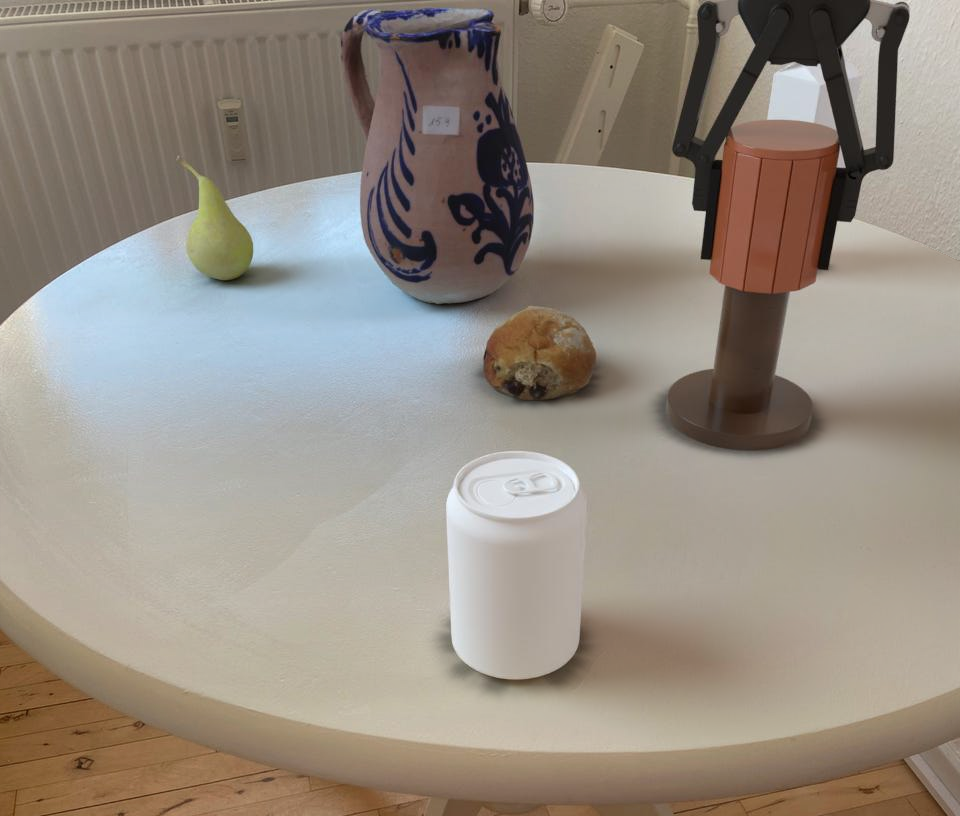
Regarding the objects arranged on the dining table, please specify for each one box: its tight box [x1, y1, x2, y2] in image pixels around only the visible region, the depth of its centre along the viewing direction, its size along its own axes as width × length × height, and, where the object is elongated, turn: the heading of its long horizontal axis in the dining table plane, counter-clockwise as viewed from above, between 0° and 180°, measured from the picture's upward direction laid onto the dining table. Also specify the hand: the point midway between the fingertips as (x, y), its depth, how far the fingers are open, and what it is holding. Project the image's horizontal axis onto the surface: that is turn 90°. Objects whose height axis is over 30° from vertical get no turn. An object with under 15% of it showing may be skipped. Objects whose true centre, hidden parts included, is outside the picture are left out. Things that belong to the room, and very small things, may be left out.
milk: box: [766, 43, 863, 168], centre depth 108 cm, size 6×6×22 cm
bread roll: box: [483, 305, 597, 401], centre depth 94 cm, size 10×10×8 cm
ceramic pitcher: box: [340, 6, 535, 305], centre depth 104 cm, size 18×21×25 cm
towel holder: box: [665, 285, 814, 452], centre depth 85 cm, size 12×12×14 cm
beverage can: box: [445, 450, 588, 680], centre depth 64 cm, size 8×8×12 cm
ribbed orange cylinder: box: [709, 119, 840, 294], centre depth 79 cm, size 8×8×10 cm
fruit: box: [176, 155, 254, 281], centre depth 111 cm, size 7×8×12 cm
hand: (765, 258), depth 81 cm, fingers closed on ribbed orange cylinder, 8 cm apart
